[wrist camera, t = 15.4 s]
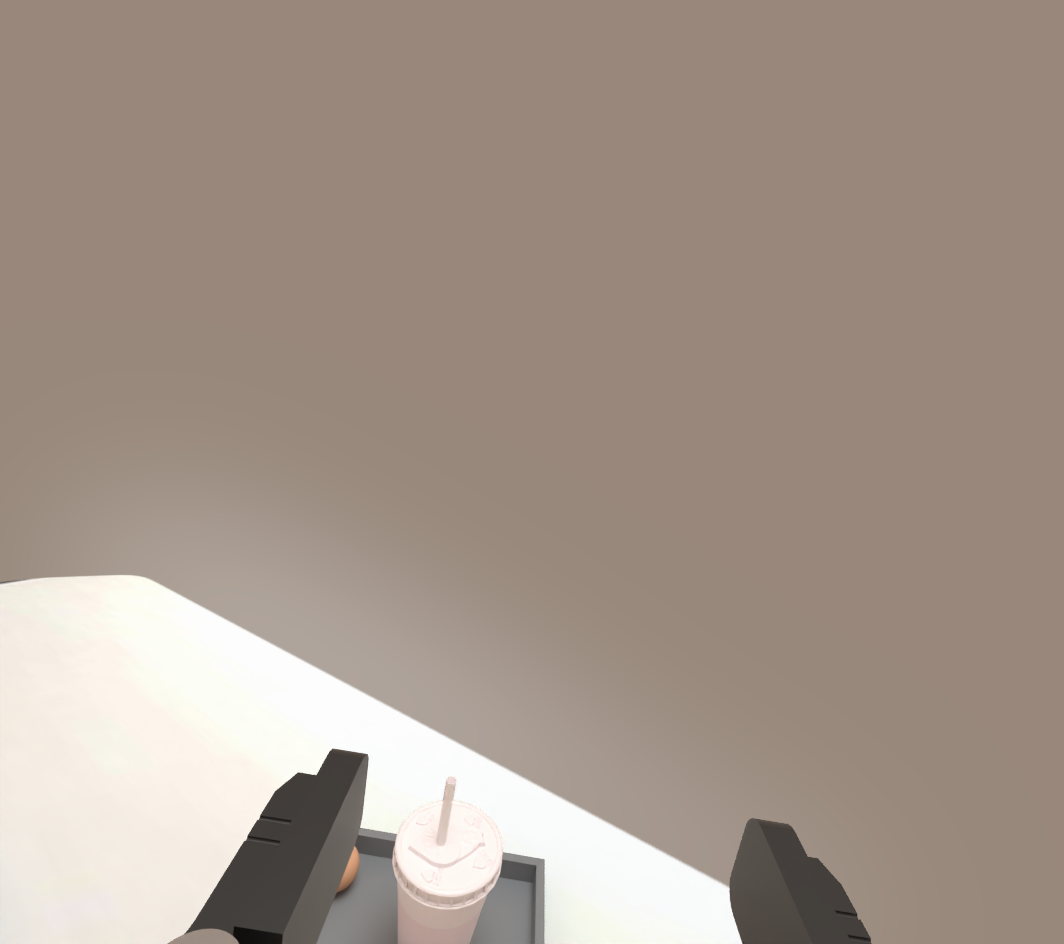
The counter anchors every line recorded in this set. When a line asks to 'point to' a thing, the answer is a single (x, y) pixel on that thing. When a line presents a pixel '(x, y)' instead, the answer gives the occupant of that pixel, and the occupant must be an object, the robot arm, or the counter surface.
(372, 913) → the tray
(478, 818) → the smoothie
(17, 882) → the counter surface
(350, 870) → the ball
